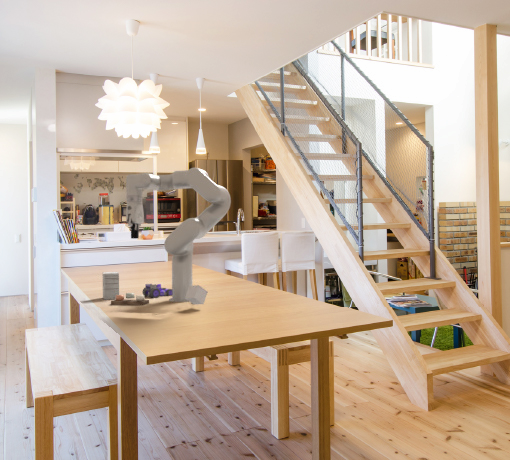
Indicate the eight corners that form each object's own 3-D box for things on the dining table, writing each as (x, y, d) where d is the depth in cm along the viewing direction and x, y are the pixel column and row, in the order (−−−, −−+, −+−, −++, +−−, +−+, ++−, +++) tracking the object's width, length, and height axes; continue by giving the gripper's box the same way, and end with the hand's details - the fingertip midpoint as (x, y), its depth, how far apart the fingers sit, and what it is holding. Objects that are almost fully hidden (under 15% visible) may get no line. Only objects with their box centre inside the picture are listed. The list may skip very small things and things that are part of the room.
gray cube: (184, 298, 207) (189, 286, 210) (193, 304, 210) (198, 292, 213) (194, 297, 203) (198, 285, 206) (203, 303, 207) (207, 291, 210)
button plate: (149, 303, 215) (149, 299, 215) (143, 305, 209) (143, 301, 209) (117, 302, 219) (117, 299, 219) (110, 304, 213) (110, 301, 213)
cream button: (145, 299, 214) (145, 295, 214) (142, 300, 211) (142, 296, 211) (138, 299, 215) (138, 295, 215) (134, 300, 212) (134, 296, 212)
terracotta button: (125, 299, 217) (125, 294, 217) (121, 300, 213) (121, 295, 213) (118, 299, 217) (118, 294, 217) (114, 300, 214) (114, 295, 214)
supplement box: (102, 298, 235) (102, 272, 236) (118, 297, 238) (117, 271, 238) (103, 299, 229) (103, 273, 229) (119, 298, 231) (119, 272, 231)
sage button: (135, 297, 215) (135, 292, 215) (131, 298, 212) (131, 293, 212) (128, 297, 216) (128, 292, 216) (124, 298, 213) (124, 293, 213)
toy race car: (178, 295, 243) (178, 283, 243) (151, 298, 233) (151, 285, 233) (168, 294, 250) (168, 281, 250) (142, 296, 240) (142, 283, 240)
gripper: (134, 199, 222) (134, 238, 222) (148, 201, 237) (148, 238, 237) (119, 199, 224) (120, 238, 224) (134, 201, 239) (134, 238, 239)
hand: (134, 238), depth 231 cm, fingers closed
